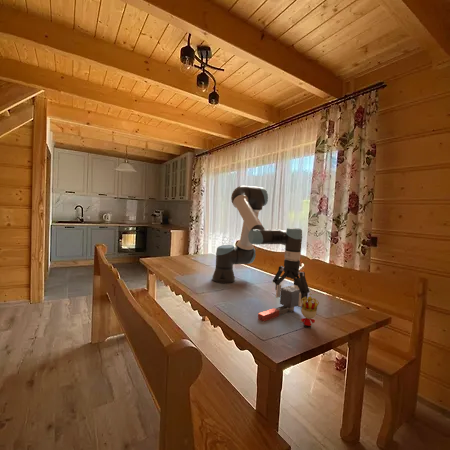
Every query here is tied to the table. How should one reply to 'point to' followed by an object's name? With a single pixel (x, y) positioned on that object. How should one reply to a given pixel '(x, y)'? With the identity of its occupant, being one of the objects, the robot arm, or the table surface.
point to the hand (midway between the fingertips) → (288, 301)
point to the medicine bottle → (298, 288)
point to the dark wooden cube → (289, 296)
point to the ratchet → (274, 313)
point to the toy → (308, 310)
